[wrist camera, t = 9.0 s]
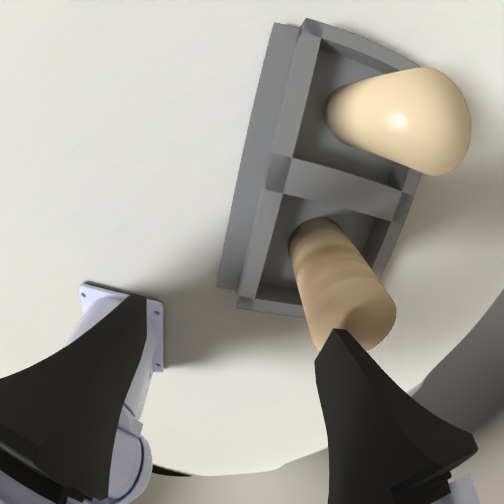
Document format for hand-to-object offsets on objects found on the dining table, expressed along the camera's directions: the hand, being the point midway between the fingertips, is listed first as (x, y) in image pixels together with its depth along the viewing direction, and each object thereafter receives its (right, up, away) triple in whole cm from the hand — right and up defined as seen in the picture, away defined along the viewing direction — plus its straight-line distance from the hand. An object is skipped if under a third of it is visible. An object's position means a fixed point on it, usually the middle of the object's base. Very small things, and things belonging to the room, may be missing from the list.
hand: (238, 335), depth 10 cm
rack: (+6, +8, +7) cm, 12 cm away
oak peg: (+5, +4, +8) cm, 10 cm away
